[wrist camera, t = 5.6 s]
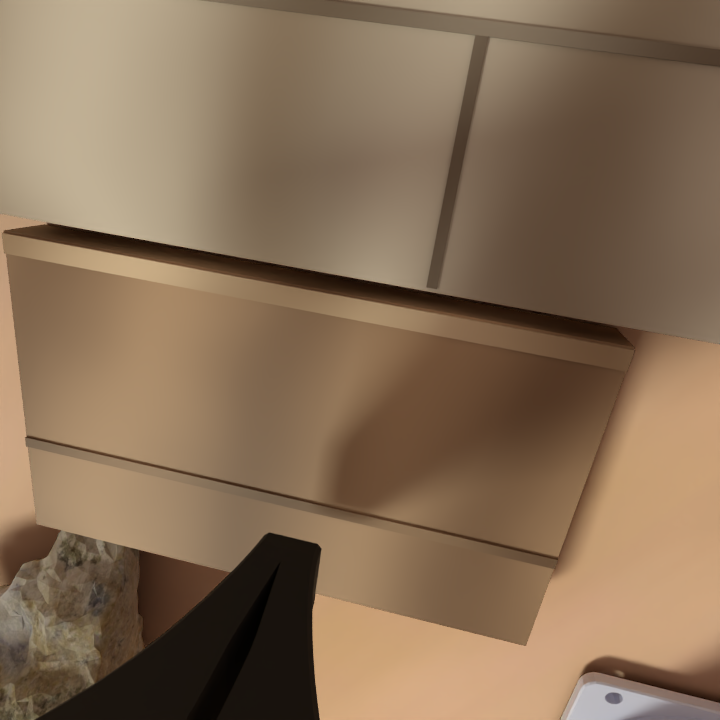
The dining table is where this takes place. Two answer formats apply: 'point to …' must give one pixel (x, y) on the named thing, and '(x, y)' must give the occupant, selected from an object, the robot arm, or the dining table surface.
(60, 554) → the rock
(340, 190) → the beige grooved panel
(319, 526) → the plank
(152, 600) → the dining table surface
